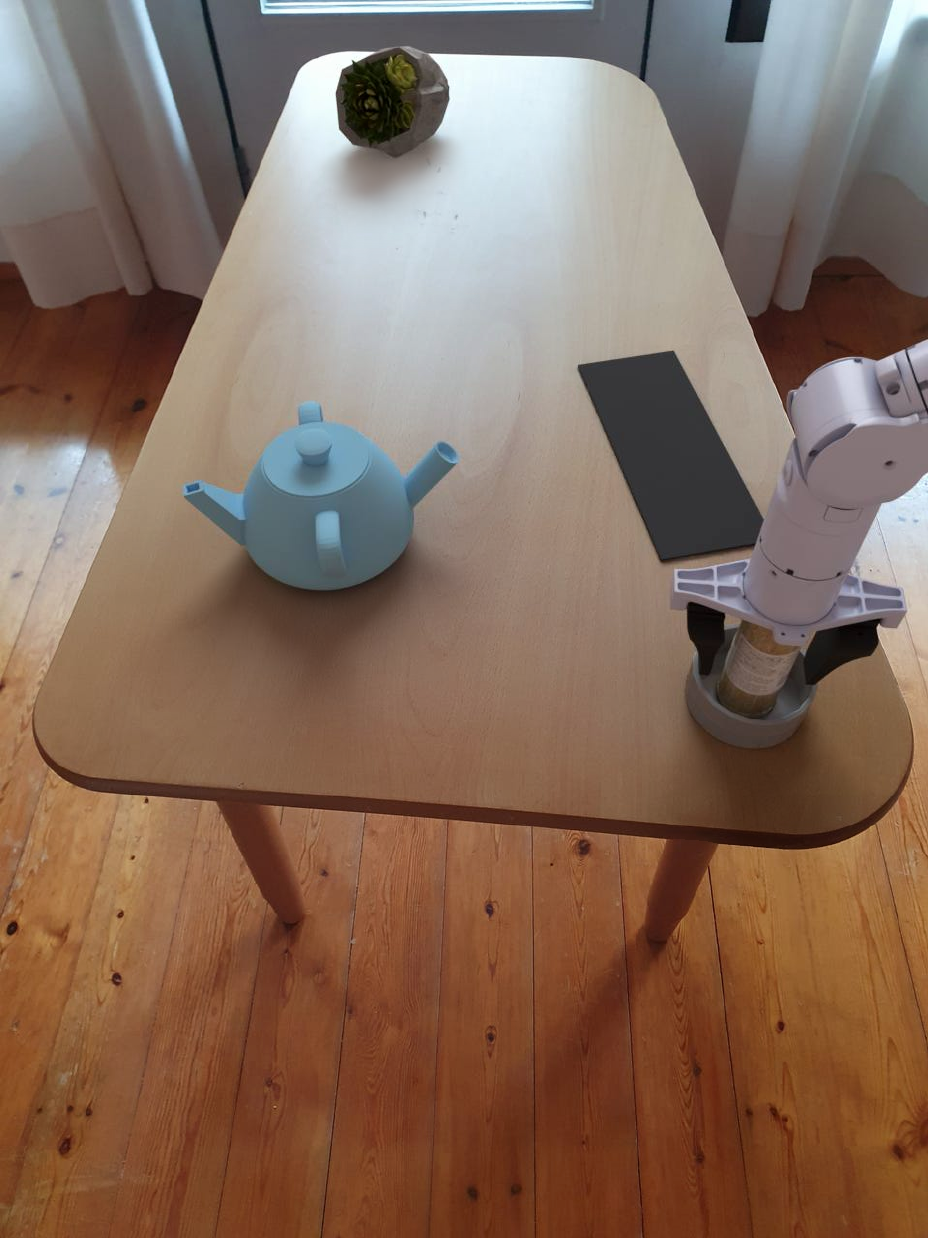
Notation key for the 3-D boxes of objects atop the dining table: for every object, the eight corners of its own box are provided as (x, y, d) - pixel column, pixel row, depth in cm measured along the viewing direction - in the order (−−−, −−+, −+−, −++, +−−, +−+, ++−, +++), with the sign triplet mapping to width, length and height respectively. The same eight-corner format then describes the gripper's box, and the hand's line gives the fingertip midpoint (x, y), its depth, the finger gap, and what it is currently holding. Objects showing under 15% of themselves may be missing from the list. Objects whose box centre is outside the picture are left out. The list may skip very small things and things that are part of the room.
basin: (799, 654, 73) (811, 628, 70) (809, 754, 68) (823, 730, 65) (684, 644, 74) (692, 617, 71) (686, 742, 69) (694, 718, 66)
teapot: (373, 641, 75) (357, 548, 66) (201, 563, 80) (165, 467, 71) (467, 515, 83) (464, 416, 74) (305, 451, 88) (283, 352, 79)
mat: (773, 542, 80) (774, 539, 80) (661, 561, 79) (661, 559, 79) (673, 352, 95) (673, 350, 95) (577, 366, 94) (577, 364, 94)
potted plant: (473, 104, 120) (435, 126, 109) (400, 165, 127) (358, 191, 116) (416, 13, 116) (371, 26, 105) (345, 82, 123) (295, 100, 112)
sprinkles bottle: (742, 659, 73) (786, 544, 62) (789, 698, 71) (843, 586, 60) (701, 692, 71) (739, 580, 60) (748, 732, 69) (796, 624, 58)
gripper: (686, 585, 55) (654, 706, 66) (943, 607, 54) (866, 726, 65) (684, 498, 59) (654, 625, 70) (923, 516, 58) (854, 642, 69)
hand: (756, 668), depth 68 cm, fingers open, 7 cm apart
